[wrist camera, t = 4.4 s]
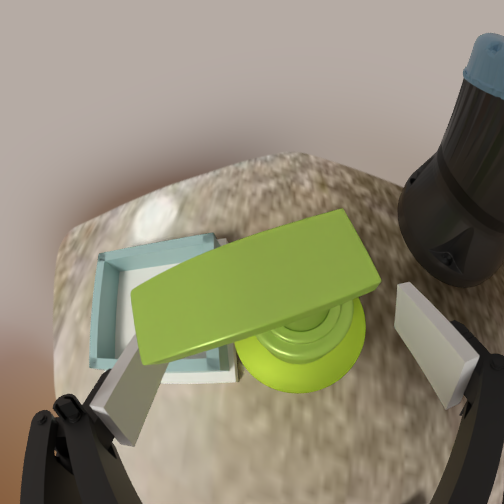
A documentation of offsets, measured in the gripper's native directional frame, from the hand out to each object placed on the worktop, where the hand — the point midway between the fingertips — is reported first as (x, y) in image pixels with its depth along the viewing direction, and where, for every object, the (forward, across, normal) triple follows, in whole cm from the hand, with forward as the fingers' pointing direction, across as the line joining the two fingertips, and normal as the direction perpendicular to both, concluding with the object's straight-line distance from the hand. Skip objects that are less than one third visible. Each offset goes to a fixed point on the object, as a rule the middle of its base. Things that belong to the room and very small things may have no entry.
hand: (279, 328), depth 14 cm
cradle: (+11, -12, -4) cm, 16 cm away
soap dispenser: (+7, 0, -8) cm, 11 cm away
